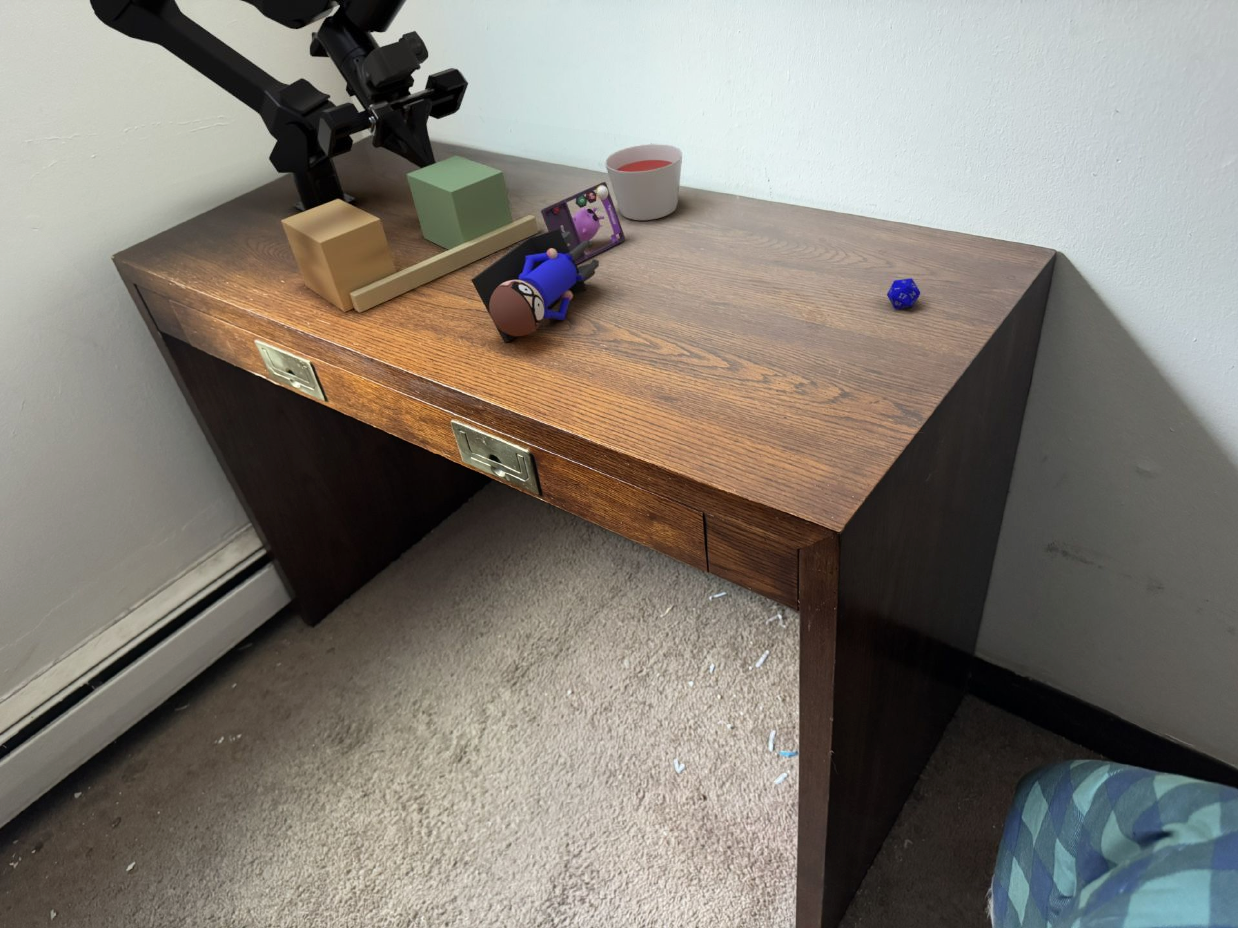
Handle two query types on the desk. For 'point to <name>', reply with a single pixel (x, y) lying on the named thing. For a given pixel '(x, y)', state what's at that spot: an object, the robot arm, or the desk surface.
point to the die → (903, 293)
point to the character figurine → (533, 282)
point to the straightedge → (442, 264)
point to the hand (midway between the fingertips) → (433, 170)
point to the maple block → (339, 250)
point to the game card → (583, 219)
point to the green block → (459, 201)
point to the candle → (646, 180)
